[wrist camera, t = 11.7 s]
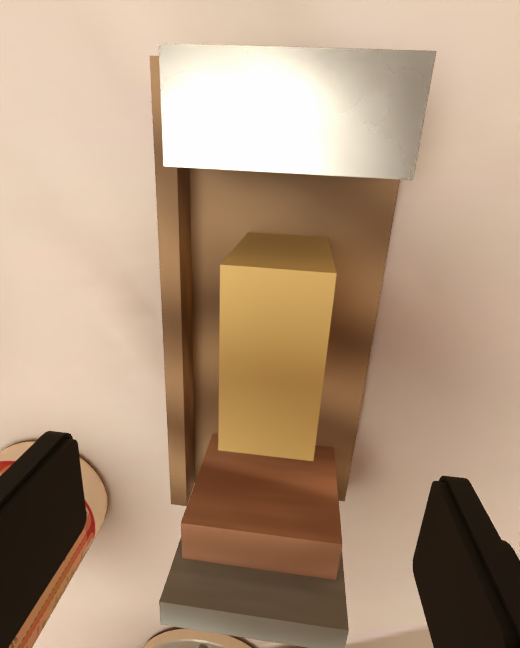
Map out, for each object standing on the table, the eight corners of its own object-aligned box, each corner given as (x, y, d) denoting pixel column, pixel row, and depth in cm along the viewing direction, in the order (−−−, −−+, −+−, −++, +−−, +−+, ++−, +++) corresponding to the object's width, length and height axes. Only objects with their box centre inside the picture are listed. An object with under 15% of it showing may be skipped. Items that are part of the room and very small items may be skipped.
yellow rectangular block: (311, 377, 23) (313, 461, 17) (243, 370, 23) (218, 450, 17) (327, 237, 20) (336, 273, 13) (248, 231, 20) (219, 264, 14)
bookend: (378, 174, 18) (412, 180, 12) (209, 164, 19) (163, 166, 13) (391, 89, 17) (436, 51, 11) (208, 83, 18) (158, 43, 12)
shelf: (343, 487, 27) (361, 658, 18) (185, 468, 28) (123, 621, 19) (411, 80, 18) (521, -9, 9) (174, 72, 19) (43, -16, 10)
